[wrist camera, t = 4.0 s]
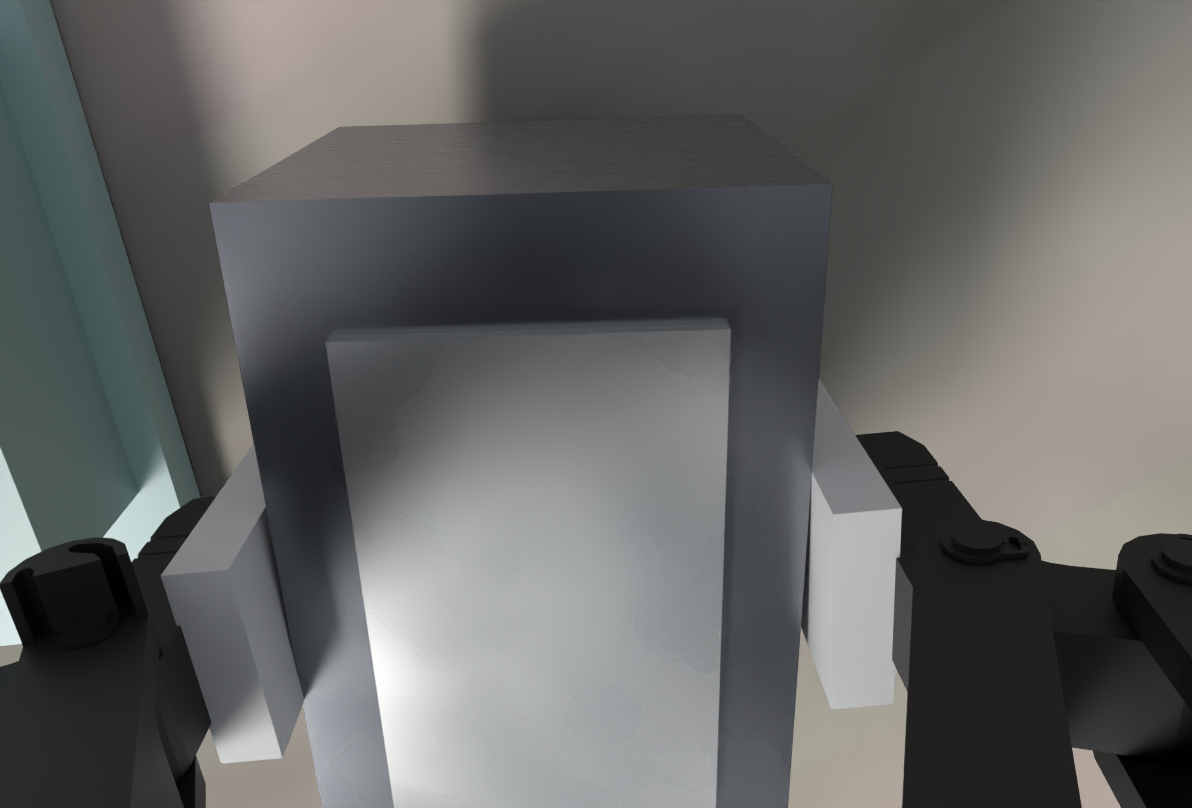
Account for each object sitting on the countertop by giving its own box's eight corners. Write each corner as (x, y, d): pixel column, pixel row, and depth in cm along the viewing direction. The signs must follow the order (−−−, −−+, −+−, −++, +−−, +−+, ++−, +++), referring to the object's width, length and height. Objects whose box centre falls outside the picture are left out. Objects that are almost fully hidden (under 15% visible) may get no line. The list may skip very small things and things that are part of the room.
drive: (724, 623, 19) (785, 885, 14) (405, 634, 19) (334, 902, 14) (740, 114, 15) (837, 187, 10) (339, 126, 15) (202, 207, 10)
